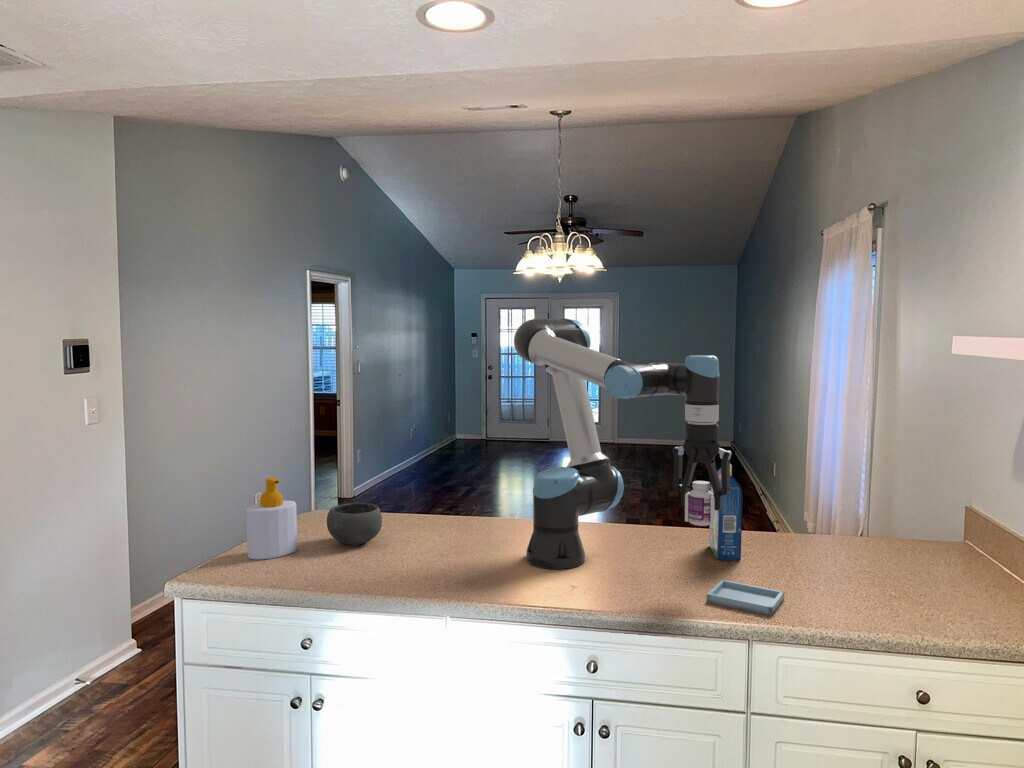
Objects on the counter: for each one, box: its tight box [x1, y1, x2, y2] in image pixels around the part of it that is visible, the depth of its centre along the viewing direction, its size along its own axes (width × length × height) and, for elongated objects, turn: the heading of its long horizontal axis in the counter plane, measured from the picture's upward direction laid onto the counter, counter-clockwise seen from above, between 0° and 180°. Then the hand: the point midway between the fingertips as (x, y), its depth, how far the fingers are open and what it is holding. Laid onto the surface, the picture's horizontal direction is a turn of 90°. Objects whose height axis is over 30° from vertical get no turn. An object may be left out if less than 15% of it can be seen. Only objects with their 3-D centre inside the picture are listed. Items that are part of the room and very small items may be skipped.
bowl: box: [326, 502, 383, 546], centre depth 204 cm, size 15×15×10 cm
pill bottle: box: [688, 480, 713, 527], centre depth 170 cm, size 5×5×10 cm
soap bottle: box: [246, 476, 298, 561], centre depth 193 cm, size 13×8×20 cm, turn 131°
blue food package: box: [708, 463, 744, 561], centre depth 195 cm, size 6×12×25 cm, turn 175°
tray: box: [706, 579, 785, 617], centre depth 163 cm, size 14×11×2 cm
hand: (701, 521), depth 170 cm, fingers closed on pill bottle, 5 cm apart
